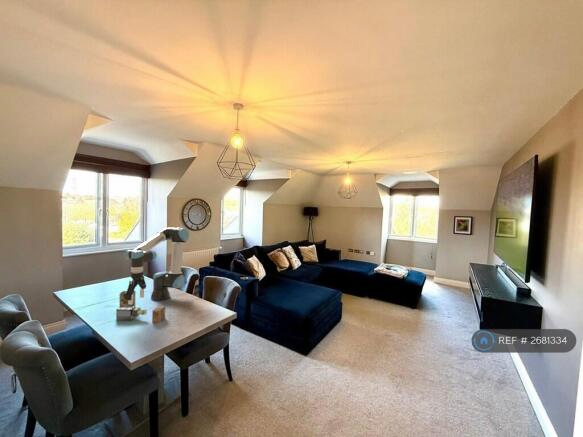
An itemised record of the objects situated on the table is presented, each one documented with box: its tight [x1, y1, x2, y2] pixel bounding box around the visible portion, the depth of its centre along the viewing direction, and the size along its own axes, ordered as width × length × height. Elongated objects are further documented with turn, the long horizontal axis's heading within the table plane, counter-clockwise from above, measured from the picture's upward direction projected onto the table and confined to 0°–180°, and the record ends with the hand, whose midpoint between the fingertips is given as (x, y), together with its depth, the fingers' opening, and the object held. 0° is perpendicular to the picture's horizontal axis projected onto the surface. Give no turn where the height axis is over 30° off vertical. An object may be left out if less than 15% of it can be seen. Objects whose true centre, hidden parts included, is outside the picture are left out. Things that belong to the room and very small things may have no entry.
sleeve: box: [115, 305, 137, 322], centre depth 177 cm, size 6×10×8 cm, turn 91°
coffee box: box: [119, 290, 136, 307], centre depth 188 cm, size 9×6×16 cm
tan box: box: [151, 305, 166, 324], centre depth 178 cm, size 8×5×9 cm, turn 1°
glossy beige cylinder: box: [131, 307, 148, 318], centre depth 177 cm, size 5×17×5 cm, turn 91°
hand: (136, 300), depth 177 cm, fingers open, 13 cm apart
